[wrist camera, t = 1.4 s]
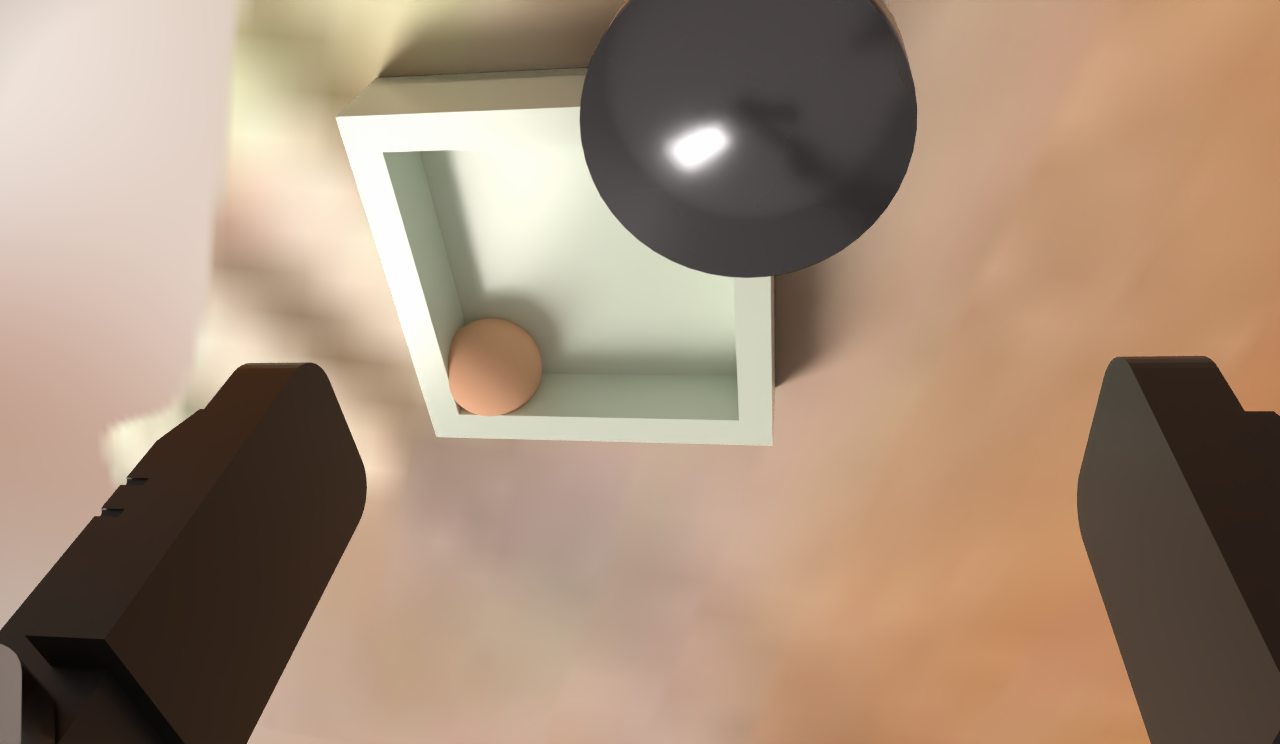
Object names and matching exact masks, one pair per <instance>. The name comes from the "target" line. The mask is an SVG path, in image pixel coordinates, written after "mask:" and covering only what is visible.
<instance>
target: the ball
mask: <svg viewBox="0 0 1280 744" xmlns="http://www.w3.org/2000/svg"><path fill="white" fill-rule="evenodd" d="M541 375H542V361H541V355H540V352H539V349H538V347H537V345H536V343H535V341H534V340H533V339H532V337H531V336H530V335H529V334H528V333H527V332H526V331H525V330H524V329H523V328H521V327H520V326H518V325H517V324H515V323H513V322H510V321H508V320H504V319H499V318H485V319H480V320H477V321H474V322H471V323H469V324H467V325H466V326H464V327H463V328H461V329H460V330H459V331H458V332H457V333H456V334H455V336H454V338H453V340H452V343H451V347H450V352H449V360H448V377H449V388H450V392H451V394H452V396H453V398H454V399H455V401H456V402H457V403H458V404H459V405H460V406H461V407H463V408H464V409H466V410H467V411H469V412H471V413H474V414H477V415H481V416H497V415H503V414H507V413H510V412H512V411H515V410H517V409H519V408H520V407H522V406H523V405H525V404H526V403H527V402H528V401H529V400H530V399H531V398H532V396H533V395H534V394H535V392H536V390H537V388H538V386H539V383H540V379H541Z"/></svg>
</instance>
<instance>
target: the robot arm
mask: <svg viewBox="0 0 1280 744" xmlns="http://www.w3.org/2000/svg"><path fill="white" fill-rule="evenodd" d="M366 491H367V483H366V473H365V468H364V465H363V462H362V459H361V457H360V454H359V452H358V450H357V447H356V445H355V442H354V440H353V437H352V435H351V432H350V430H349V427H348V425H347V423H346V420H345V418H344V415H343V413H342V410H341V408H340V405H339V403H338V400H337V398H336V396H335V393H334V391H333V388H332V386H331V383H330V381H329V379H328V377H327V375H326V373H325V372H324V370H323V369H322V368H321V367H320V366H318V365H317V364H314V363H247V364H244V365H242V366H240V367H239V368H237V369H236V370H235V371H234V372H233V374H232V375H231V376H230V377H229V379H228V380H227V381H226V382H225V384H224V385H223V386H222V387H221V389H220V390H219V391H218V392H217V394H216V395H215V396H214V397H213V399H212V400H211V401H210V402H209V404H208V405H207V406H206V408H205V409H200V410H198V411H197V412H195V413H194V414H193V415H191V416H190V417H189V418H187V419H186V420H185V421H183V422H182V423H180V424H179V425H178V426H176V427H175V428H174V429H172V430H171V431H170V432H168V433H167V434H165V435H164V436H163V437H161V438H160V439H159V440H157V441H156V442H155V444H154V445H153V446H152V447H151V449H150V450H149V451H148V452H147V453H146V455H145V456H144V457H143V458H142V459H141V461H140V462H139V463H138V464H137V465H136V467H135V468H134V469H133V470H132V472H131V473H130V474H129V475H128V476H127V484H126V485H120V486H119V487H118V489H117V490H116V491H115V492H114V493H113V495H112V496H111V497H110V498H109V499H108V501H107V502H106V503H105V504H104V505H103V507H102V508H101V509H102V514H101V516H98V517H97V516H95V517H94V518H93V519H92V520H91V521H90V523H89V524H88V525H87V526H86V527H85V528H84V530H83V531H82V532H81V533H80V535H79V536H78V537H77V538H76V539H75V541H74V542H73V543H72V544H71V545H70V547H69V548H68V549H67V550H66V552H65V553H64V554H63V555H62V557H61V558H60V559H59V560H58V561H57V563H56V564H55V565H54V566H53V567H52V569H51V570H50V571H49V572H48V573H47V575H46V576H45V577H44V578H43V579H42V581H41V582H40V583H39V584H38V586H37V587H36V588H35V589H34V590H33V592H32V593H31V594H30V595H29V596H28V598H27V599H26V600H25V601H24V603H23V604H22V605H21V606H20V607H19V609H18V610H17V611H16V612H15V613H14V615H13V616H12V617H11V618H10V619H9V621H8V622H7V623H6V624H5V625H4V627H3V628H2V629H1V630H0V744H247V742H248V740H249V738H250V736H251V734H252V732H253V730H254V728H255V726H256V724H257V722H258V720H259V718H260V716H261V714H262V712H263V710H264V708H265V706H266V704H267V702H268V700H269V698H270V696H271V694H272V693H273V691H274V689H275V687H276V685H277V683H278V681H279V679H280V677H281V675H282V673H283V671H284V669H285V667H286V665H287V663H288V661H289V659H290V657H291V655H292V653H293V651H294V649H295V647H296V645H297V643H298V641H299V639H300V637H301V635H302V633H303V632H304V630H305V628H306V626H307V624H308V622H309V620H310V618H311V616H312V614H313V612H314V610H315V608H316V606H317V604H318V602H319V600H320V598H321V596H322V594H323V592H324V590H325V588H326V586H327V584H328V582H329V580H330V578H331V576H332V574H333V573H334V571H335V569H336V567H337V565H338V563H339V561H340V559H341V557H342V555H343V553H344V551H345V549H346V547H347V545H348V543H349V541H350V539H351V537H352V535H353V533H354V531H355V529H356V527H357V525H358V523H359V521H360V519H361V517H362V514H363V510H364V506H365V501H366ZM1077 509H1078V519H1079V526H1080V531H1081V535H1082V539H1083V542H1084V545H1085V548H1086V551H1087V554H1088V557H1089V560H1090V563H1091V566H1092V569H1093V572H1094V575H1095V578H1096V581H1097V584H1098V587H1099V590H1100V593H1101V596H1102V599H1103V602H1104V605H1105V608H1106V611H1107V614H1108V617H1109V620H1110V623H1111V626H1112V629H1113V632H1114V635H1115V638H1116V641H1117V643H1118V646H1119V649H1120V652H1121V655H1122V658H1123V661H1124V664H1125V667H1126V670H1127V673H1128V676H1129V679H1130V682H1131V685H1132V688H1133V691H1134V694H1135V697H1136V700H1137V703H1138V706H1139V709H1140V712H1141V715H1142V718H1143V721H1144V724H1145V727H1146V730H1147V733H1148V736H1149V739H1150V742H1151V744H1280V416H1279V415H1278V414H1276V413H1275V412H1274V411H1244V409H1243V408H1242V406H1241V404H1240V403H1239V401H1238V399H1237V398H1236V396H1235V395H1234V393H1233V391H1232V390H1231V388H1230V386H1229V385H1228V383H1227V381H1226V380H1225V378H1224V377H1223V375H1222V373H1221V372H1220V370H1219V368H1218V367H1217V366H1216V364H1215V363H1214V362H1213V361H1212V360H1211V359H1210V358H1208V357H1206V356H1156V357H1116V358H1114V359H1113V360H1112V361H1111V362H1110V364H1109V365H1108V367H1107V370H1106V372H1105V376H1104V379H1103V383H1102V387H1101V391H1100V395H1099V399H1098V403H1097V407H1096V410H1095V414H1094V418H1093V422H1092V426H1091V430H1090V434H1089V438H1088V442H1087V446H1086V450H1085V454H1084V458H1083V462H1082V466H1081V469H1080V474H1079V479H1078V489H1077Z"/></svg>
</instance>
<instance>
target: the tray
mask: <svg viewBox="0 0 1280 744" xmlns="http://www.w3.org/2000/svg"><path fill="white" fill-rule="evenodd" d="M588 68H589V67H588ZM588 68H567V69H547V70H527V71H506V72H486V73H466V74H445V75H425V76H405V77H385V78H376V79H375V80H374V81H373V82H371V83H370V84H369V85H368V86H367V87H366V88H365V89H364V90H363V91H362V92H361V93H360V94H359V95H358V96H357V97H356V98H355V99H354V100H353V101H352V102H351V103H349V104H348V105H347V106H346V107H345V108H344V109H343V110H342V111H341V112H340V113H339V114H338V115H337V116H336V120H337V124H338V127H339V130H340V133H341V136H342V139H343V143H344V146H345V149H346V152H347V155H348V158H349V162H350V165H351V168H352V171H353V174H354V177H355V181H356V184H357V187H358V190H359V193H360V196H361V200H362V203H363V206H364V209H365V212H366V215H367V218H368V222H369V225H370V228H371V231H372V234H373V237H374V241H375V244H376V247H377V250H378V253H379V256H380V260H381V263H382V266H383V269H384V272H385V275H386V279H387V282H388V285H389V288H390V291H391V294H392V298H393V301H394V304H395V307H396V310H397V313H398V316H399V320H400V323H401V326H402V329H403V332H404V335H405V339H406V342H407V345H408V348H409V351H410V354H411V358H412V361H413V364H414V367H415V370H416V373H417V377H418V380H419V383H420V386H421V389H422V392H423V396H424V399H425V402H426V405H427V408H428V411H429V414H430V418H431V421H432V424H433V427H434V430H435V433H436V437H457V438H496V439H534V440H573V441H611V442H650V443H688V444H727V445H765V446H773V424H774V402H775V322H774V276H769V277H755V278H739V277H725V276H719V275H713V274H708V273H704V272H701V271H697V270H693V269H690V268H687V267H685V266H682V265H680V264H678V263H675V262H673V261H671V260H669V259H667V258H665V257H663V256H661V255H660V254H658V253H656V252H654V251H653V250H651V249H650V248H649V247H647V246H646V245H644V244H643V243H642V242H640V241H639V240H638V239H637V238H635V237H634V236H633V235H632V234H631V233H630V232H629V231H628V230H627V229H626V228H624V226H623V225H622V224H621V223H620V222H619V221H618V220H617V218H616V217H615V216H614V215H613V214H612V213H611V211H610V210H609V208H608V207H607V205H606V204H605V202H604V201H603V199H602V198H601V196H600V194H599V192H598V190H597V188H596V186H595V184H594V182H593V180H592V178H591V175H590V172H589V169H588V167H587V164H586V161H585V157H584V152H583V147H582V143H581V134H580V121H579V120H580V102H581V95H582V90H583V85H584V80H585V76H586V73H587V71H588ZM485 318H499V319H504V320H508V321H510V322H513V323H515V324H517V325H518V326H520V327H521V328H523V329H524V330H525V331H526V332H527V333H528V334H529V335H530V336H531V337H532V339H533V340H534V341H535V343H536V345H537V347H538V349H539V352H540V355H541V361H542V375H541V379H540V383H539V386H538V388H537V390H536V392H535V394H534V395H533V396H532V398H531V399H530V400H529V401H528V402H527V403H526V404H525V405H523V406H522V407H520V408H519V409H517V410H515V411H512V412H510V413H507V414H503V415H497V416H481V415H477V414H474V413H471V412H469V411H467V410H466V409H464V408H463V407H461V406H460V405H459V404H458V403H457V402H456V401H455V399H454V398H453V396H452V394H451V392H450V388H449V377H448V360H449V352H450V347H451V343H452V340H453V338H454V336H455V334H456V333H457V332H458V331H459V330H460V329H461V328H463V327H464V326H466V325H467V324H469V323H471V322H474V321H477V320H480V319H485Z"/></svg>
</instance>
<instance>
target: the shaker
mask: <svg viewBox="0 0 1280 744" xmlns="http://www.w3.org/2000/svg"><path fill="white" fill-rule="evenodd" d="M579 121H580V134H581V143H582V147H583V152H584V157H585V161H586V164H587V167H588V169H589V172H590V175H591V178H592V180H593V182H594V184H595V186H596V188H597V190H598V192H599V194H600V196H601V198H602V199H603V201H604V202H605V204H606V205H607V207H608V208H609V210H610V211H611V213H612V214H613V215H614V216H615V217H616V218H617V220H618V221H619V222H620V223H621V224H622V225H623V226H624V228H626V229H627V230H628V231H629V232H630V233H631V234H632V235H633V236H634V237H635V238H637V239H638V240H639V241H640V242H642V243H643V244H644V245H646V246H647V247H649V248H650V249H651V250H653V251H654V252H656V253H658V254H660V255H661V256H663V257H665V258H667V259H669V260H671V261H673V262H675V263H678V264H680V265H682V266H685V267H687V268H690V269H693V270H697V271H701V272H704V273H708V274H713V275H719V276H725V277H739V278H755V277H769V276H774V275H780V274H786V273H790V272H793V271H797V270H800V269H803V268H807V267H809V266H811V265H814V264H816V263H818V262H821V261H823V260H825V259H827V258H829V257H831V256H832V255H834V254H836V253H838V252H839V251H841V250H843V249H844V248H845V247H847V246H848V245H850V244H851V243H852V242H854V241H855V240H856V239H858V238H859V237H860V236H861V235H862V234H863V233H864V232H865V231H866V230H868V229H869V228H870V227H871V226H872V225H873V224H874V223H875V221H876V220H877V219H878V218H879V217H880V215H881V214H882V213H883V212H884V211H885V209H886V208H887V207H888V205H889V204H890V202H891V200H892V199H893V197H894V196H895V194H896V193H897V191H898V189H899V187H900V185H901V183H902V180H903V178H904V176H905V174H906V172H907V169H908V166H909V162H910V159H911V156H912V153H913V148H914V142H915V136H916V130H917V103H916V95H915V87H914V82H913V78H912V74H911V70H910V66H909V62H908V58H907V54H906V50H905V47H904V43H903V39H902V36H901V33H900V31H899V29H898V26H897V24H896V22H895V20H894V17H893V15H892V14H891V12H890V10H889V7H888V2H887V0H625V1H624V2H623V4H622V5H621V7H620V8H619V10H618V11H617V13H616V14H615V16H614V18H613V20H612V21H611V23H610V25H609V27H608V28H607V30H606V32H605V34H604V35H603V37H602V39H601V41H600V43H599V45H598V47H597V49H596V51H595V53H594V55H593V57H592V59H591V62H590V65H589V68H588V71H587V73H586V76H585V80H584V85H583V90H582V95H581V102H580V120H579Z"/></svg>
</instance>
